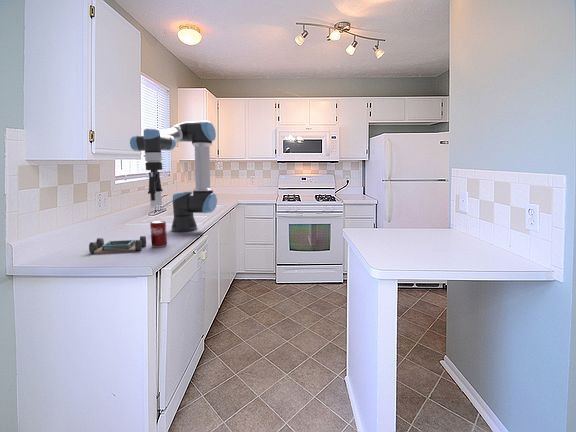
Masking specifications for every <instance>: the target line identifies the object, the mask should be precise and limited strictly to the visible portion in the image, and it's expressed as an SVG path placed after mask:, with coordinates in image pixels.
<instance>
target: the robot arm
mask: <svg viewBox="0 0 576 432" xmlns="http://www.w3.org/2000/svg"><path fill="white" fill-rule="evenodd" d="M216 134H217V132H216V129H215V126H214V124H213V123H212V122H211V121H210V120H195V121H194V120H193V121H184V122H181V123H177V124H175V125H171V126H169V128H167V129H161V130H160V129H159V128H145V129H143V134H142V135H134V136H132V137H131V138H130V140H129V145H130V149H132V150H133V151H135V152H144V155H143V157H144V159H145V170H146V171H149V172H148V191H147V194H148V195H149V202H150V208H151V209H153V208H158V205H159V206H161V205H163V202H162V200H163V199H162V192H163V189H162V183H161V175H160V174H161V173H160V171H161V170H163V162H162V161H163V157H162V151H171V150H174V148H175V147H176V145H177V143H179V142H190V143H191V145H192V146H193V147H194V176H195V177H194V178H195V179H194V180H195V188H194V189H193V190H190V191H189V190H188V191H183V192H176V193H173V195H172V210H173V211H172V212H173V218H172V219H173V221H172V224H171V228H170V229H171V231H172V232H176V233H177V232H179V233H180V232H192V231H196V230H198V225H197V222H196V220H195V217H194V214H211V213H213V212H214V211H215V210H216V207H217V205H218V197H217V194H215V193H214V190H213V188H211V159H210V158H211V157H210V156H211V155H210V153H211V152H210V149H211V148H210V147H211V146H213V142H214V141H215V140H216V136H217V135H216Z"/></svg>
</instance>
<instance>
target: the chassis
mask: <svg viewBox="0 0 576 432" xmlns="http://www.w3.org/2000/svg"><path fill="white" fill-rule="evenodd" d="M146 246H147V237H146V236H145V235H141V236H140V237H139V239H127V240H126V239H125V240H124V239H123V240H109V241H107V242H105V241H104V238H103V237H101V238H99V237H97V239H96V241H94V242H91V241H90V242H89V244H88V250H89V253H90V254H93V255H104V254H107V253H108V254H121V253H122V254H123V253H124V254H126V253H136V252H138V251H142V250H143V247H146ZM108 254H107V255H108Z"/></svg>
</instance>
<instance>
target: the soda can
mask: <svg viewBox="0 0 576 432" xmlns="http://www.w3.org/2000/svg"><path fill="white" fill-rule="evenodd" d="M149 227H150V228H149V229H150V240H151V246H152V247H153V248H163V247H167V246H168V238H167V236H168V235H167V222H166V221H164V220H157V221H156V220H155V221H151V222H150V224H149Z"/></svg>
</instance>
